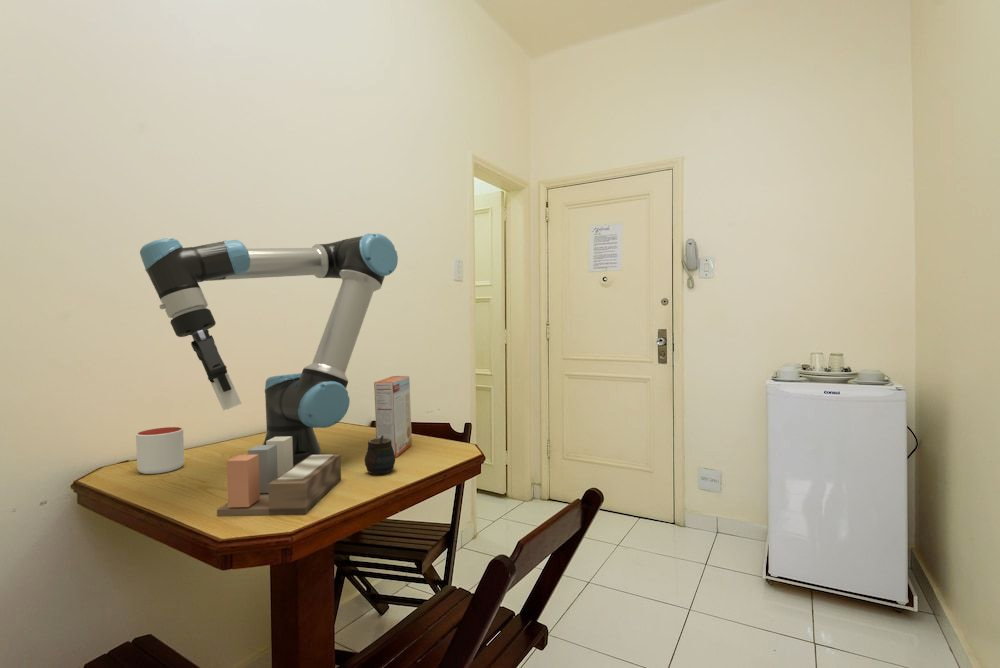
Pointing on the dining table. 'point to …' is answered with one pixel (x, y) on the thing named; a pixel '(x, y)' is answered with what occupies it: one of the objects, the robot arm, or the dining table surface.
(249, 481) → the pink tall block
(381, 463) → the mate gourd
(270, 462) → the slate key
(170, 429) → the cup
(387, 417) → the cracker box
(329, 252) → the robot arm
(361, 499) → the dining table surface
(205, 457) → the dining table surface
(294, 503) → the key console
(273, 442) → the ivory key
